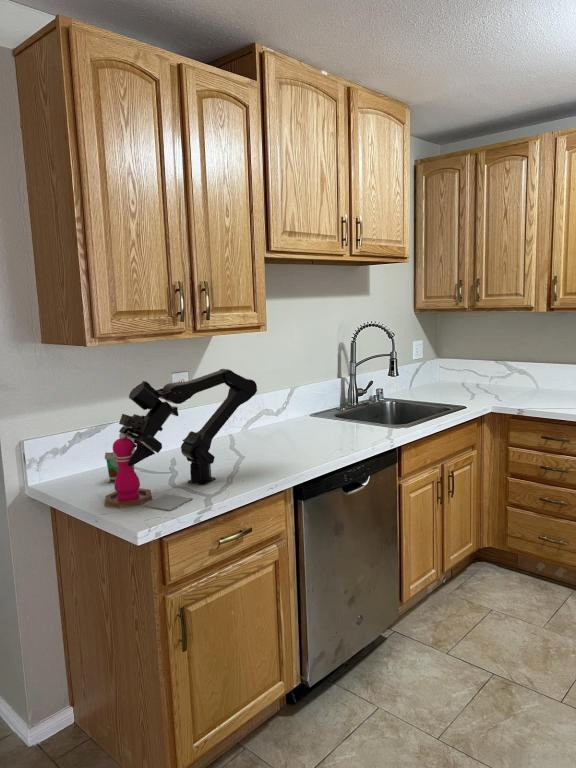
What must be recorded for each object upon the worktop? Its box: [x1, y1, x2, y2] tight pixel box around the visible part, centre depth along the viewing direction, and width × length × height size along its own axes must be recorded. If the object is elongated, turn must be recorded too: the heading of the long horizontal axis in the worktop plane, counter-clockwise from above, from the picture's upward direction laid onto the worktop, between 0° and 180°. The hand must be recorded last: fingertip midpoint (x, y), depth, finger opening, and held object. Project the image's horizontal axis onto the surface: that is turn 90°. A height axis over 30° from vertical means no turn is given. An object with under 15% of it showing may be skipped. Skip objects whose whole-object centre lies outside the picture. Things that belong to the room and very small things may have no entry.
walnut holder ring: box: [104, 487, 153, 509], centre depth 174 cm, size 13×13×1 cm
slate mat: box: [141, 493, 194, 512], centre depth 170 cm, size 10×10×1 cm
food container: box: [104, 447, 136, 483], centre depth 195 cm, size 12×6×10 cm, turn 158°
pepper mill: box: [112, 433, 141, 502], centre depth 172 cm, size 7×7×20 cm
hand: (122, 462), depth 172 cm, fingers open, 9 cm apart
